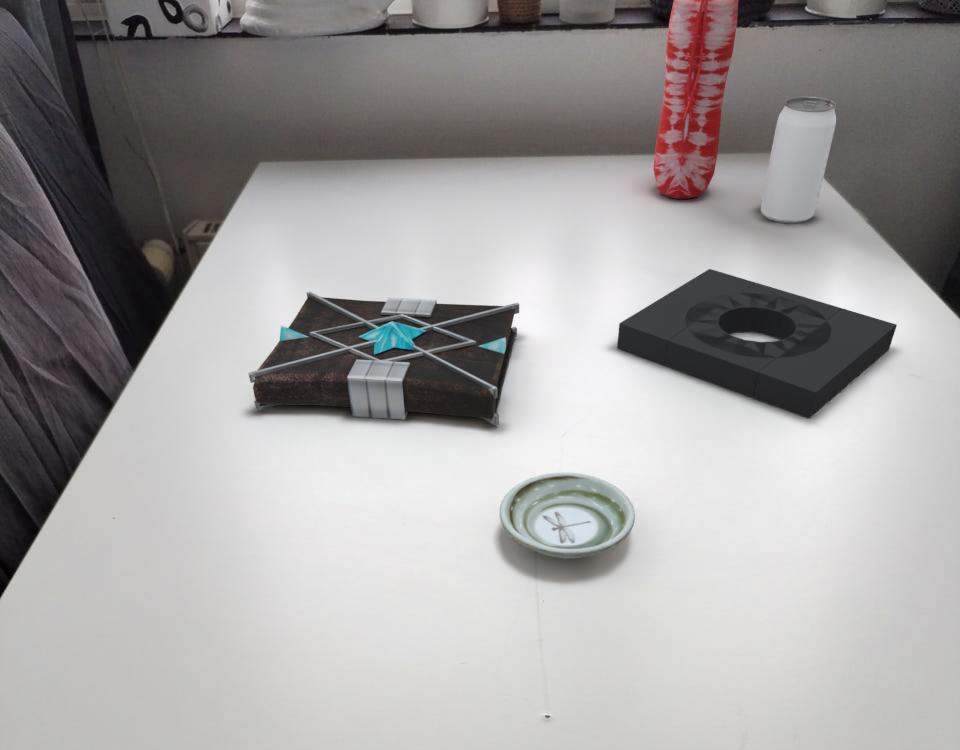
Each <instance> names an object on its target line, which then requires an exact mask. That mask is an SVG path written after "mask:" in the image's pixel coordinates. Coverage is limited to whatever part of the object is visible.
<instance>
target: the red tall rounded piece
mask: <svg viewBox="0 0 960 750" xmlns="http://www.w3.org/2000/svg"><path fill="white" fill-rule="evenodd" d="M738 12H739V0H673V2H672V7H671V12H670V18H669V22H668V31H667V41H666V47H665V48H666V51H665V80H664V91H663V100H662V107H661V113H660V118H659V124H658V130H657V136H656V142H655V148H654V158H653V174H654V179H655V184H656V189H657V190H658V192H659V193H660V194H661V195H664V196H666V197H668V198H672V199H677V200H680V199H681V200H684V199H685V200H687V199H689V200H690V199H693V198H698V197H700V196H701V195H703V194H704V193H705V192H706V190H707V189H708V187H709V185H710V183H711V181H712V180H713V177H714V175H715V170H716V164H717V160H718V153H719V144H720V143H719V142H720V132H721V122H722V121H721V120H722V110H723V108H722V107H723V102H724V97H725V90H726V84H727V79H728V75H729V70H730V66H731V61H732V57H733V53H734V48H735V47H734V46H735V40H736V31H737V27H738Z"/></svg>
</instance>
